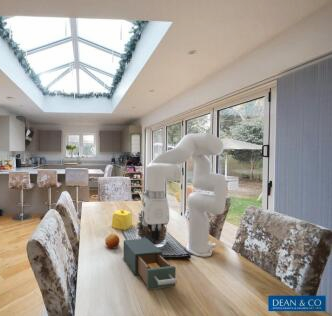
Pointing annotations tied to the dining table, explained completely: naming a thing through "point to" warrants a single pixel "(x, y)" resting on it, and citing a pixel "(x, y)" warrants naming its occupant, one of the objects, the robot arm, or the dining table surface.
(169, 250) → the dining table surface
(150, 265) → the block
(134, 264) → the cabinet
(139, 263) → the drawer
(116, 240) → the fruit
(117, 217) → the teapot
